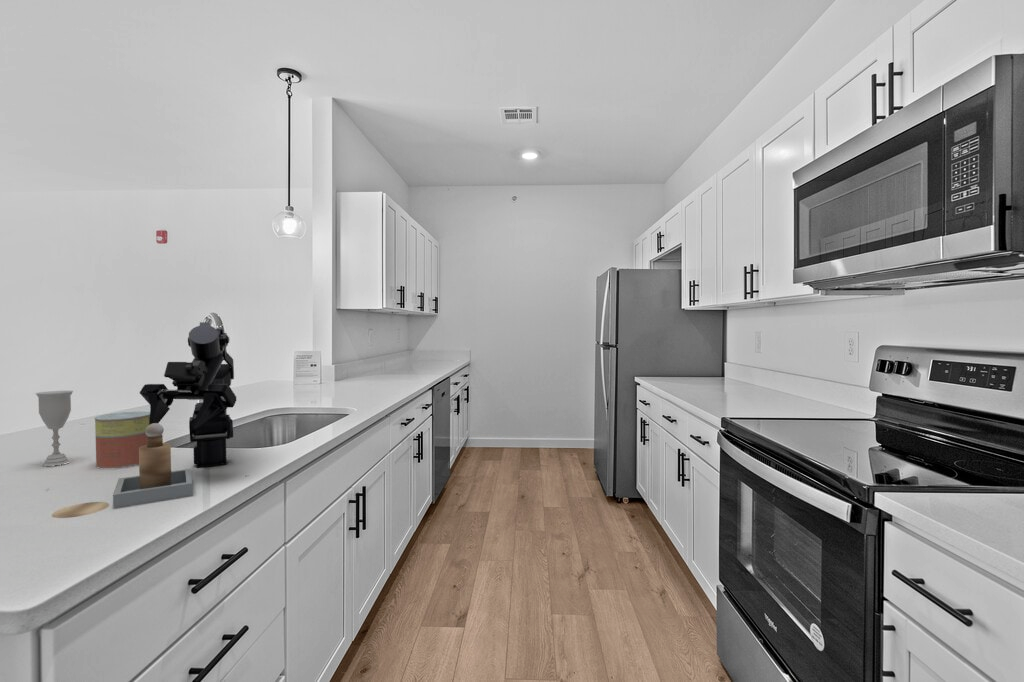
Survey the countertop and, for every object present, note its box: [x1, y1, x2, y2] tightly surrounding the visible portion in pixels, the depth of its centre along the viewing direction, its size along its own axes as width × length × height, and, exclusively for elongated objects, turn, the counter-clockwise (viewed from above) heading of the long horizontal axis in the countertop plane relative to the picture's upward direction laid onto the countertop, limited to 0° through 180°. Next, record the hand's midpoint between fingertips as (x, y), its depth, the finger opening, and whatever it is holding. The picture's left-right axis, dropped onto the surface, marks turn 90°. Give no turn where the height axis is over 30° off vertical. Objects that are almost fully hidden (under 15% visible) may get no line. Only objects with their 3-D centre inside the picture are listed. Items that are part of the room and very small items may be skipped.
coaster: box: [51, 501, 110, 519], centre depth 92 cm, size 8×8×1 cm
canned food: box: [94, 411, 150, 469], centre depth 126 cm, size 11×11×12 cm
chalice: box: [35, 390, 74, 467], centre depth 125 cm, size 7×7×18 cm
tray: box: [112, 468, 194, 510], centre depth 101 cm, size 12×12×3 cm
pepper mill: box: [138, 423, 172, 489], centre depth 101 cm, size 5×5×14 cm
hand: (172, 427), depth 107 cm, fingers open, 9 cm apart
